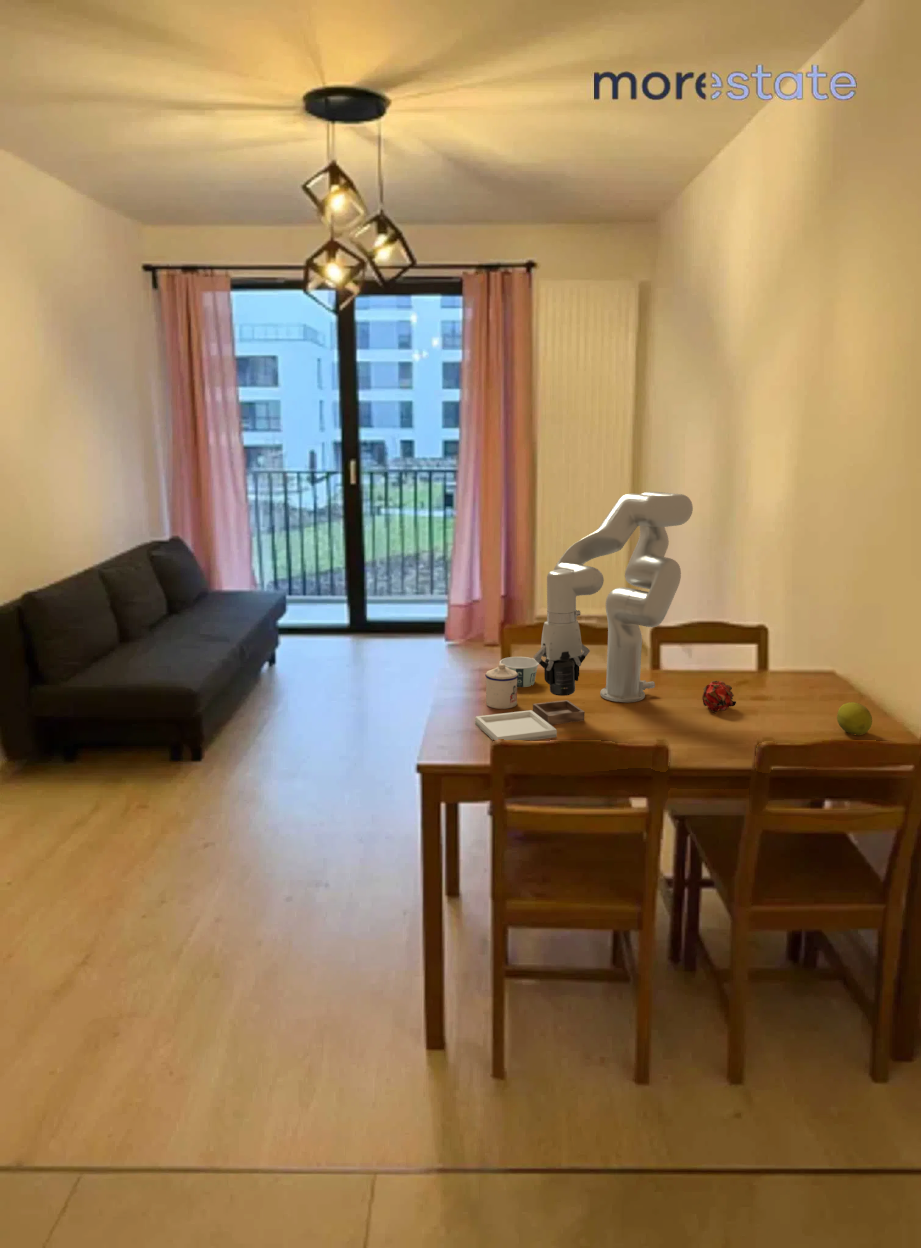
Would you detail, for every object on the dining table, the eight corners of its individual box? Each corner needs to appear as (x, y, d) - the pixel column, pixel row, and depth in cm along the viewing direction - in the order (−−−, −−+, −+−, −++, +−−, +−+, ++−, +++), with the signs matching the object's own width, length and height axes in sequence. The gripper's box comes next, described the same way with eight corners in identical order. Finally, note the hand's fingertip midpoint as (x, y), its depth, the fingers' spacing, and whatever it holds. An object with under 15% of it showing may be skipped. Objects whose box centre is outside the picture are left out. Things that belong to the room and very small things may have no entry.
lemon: (875, 741, 228) (879, 710, 226) (843, 740, 229) (846, 709, 227) (861, 726, 239) (864, 697, 237) (830, 725, 239) (833, 696, 237)
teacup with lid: (517, 710, 251) (517, 669, 248) (484, 709, 252) (484, 668, 249) (518, 696, 263) (519, 657, 260) (486, 695, 263) (487, 656, 261)
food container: (500, 676, 282) (500, 656, 281) (539, 677, 281) (539, 657, 279) (498, 688, 271) (498, 667, 269) (538, 689, 269) (539, 668, 268)
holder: (567, 708, 252) (567, 700, 252) (584, 720, 243) (584, 711, 242) (532, 712, 249) (532, 704, 248) (548, 725, 239) (548, 716, 239)
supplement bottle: (547, 688, 248) (547, 646, 245) (572, 687, 248) (572, 644, 245) (551, 697, 241) (551, 653, 238) (577, 695, 242) (577, 652, 239)
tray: (531, 717, 245) (531, 710, 245) (556, 737, 231) (556, 729, 230) (475, 723, 240) (475, 716, 240) (497, 744, 226) (497, 737, 225)
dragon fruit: (715, 707, 258) (722, 727, 247) (692, 690, 257) (697, 710, 246) (736, 685, 255) (743, 705, 244) (712, 668, 254) (719, 687, 243)
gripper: (584, 609, 246) (584, 673, 250) (525, 617, 240) (526, 681, 245) (597, 616, 239) (597, 681, 243) (537, 624, 233) (537, 690, 238)
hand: (561, 680), depth 244 cm, fingers closed on supplement bottle, 6 cm apart
